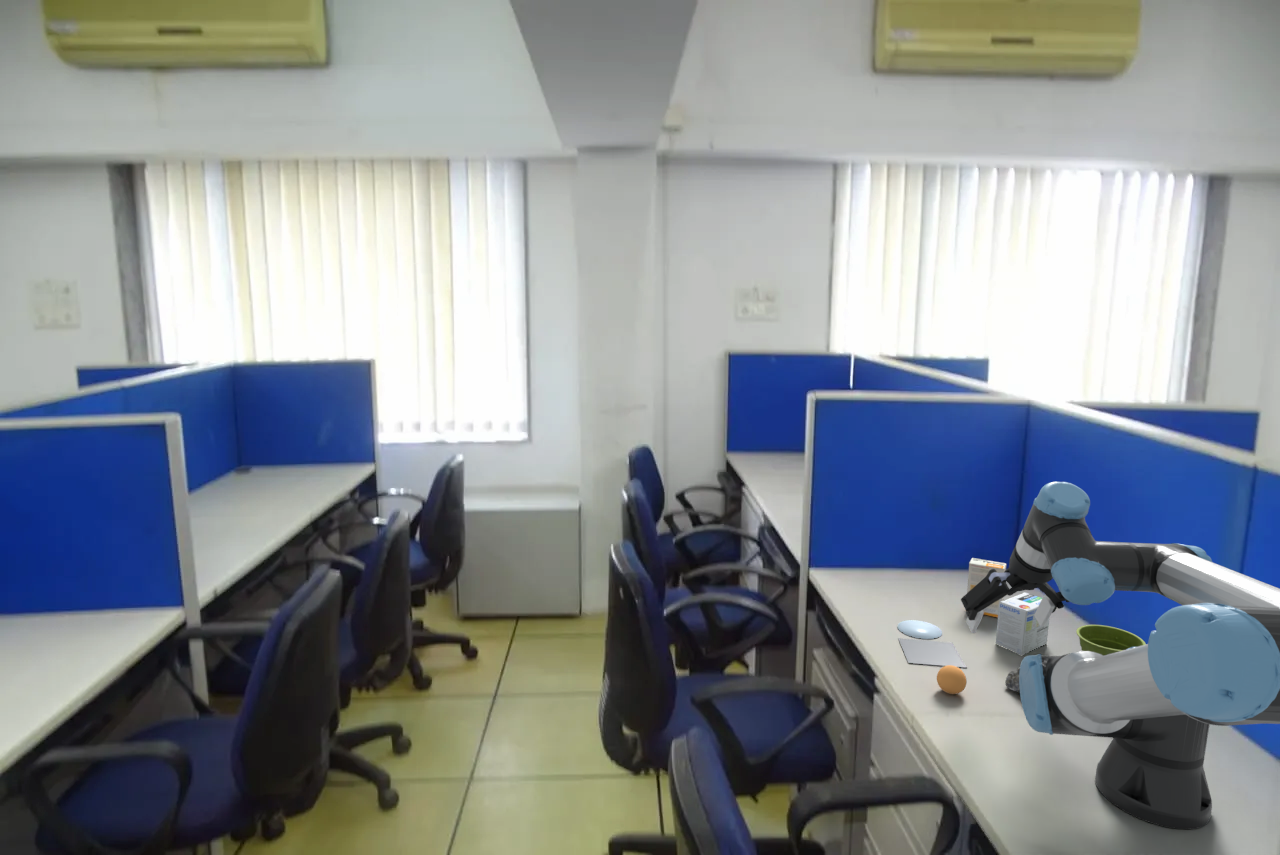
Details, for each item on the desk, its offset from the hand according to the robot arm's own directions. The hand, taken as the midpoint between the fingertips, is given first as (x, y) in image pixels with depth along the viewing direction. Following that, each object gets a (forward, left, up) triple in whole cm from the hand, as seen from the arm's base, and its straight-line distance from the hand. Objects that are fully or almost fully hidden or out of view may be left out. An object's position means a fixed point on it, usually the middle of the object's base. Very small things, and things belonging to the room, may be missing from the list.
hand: (1004, 623), depth 143 cm
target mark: (+17, +9, -15) cm, 25 cm away
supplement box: (+43, -10, -16) cm, 47 cm away
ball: (0, +9, -13) cm, 15 cm away
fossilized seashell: (+2, -8, -16) cm, 18 cm away
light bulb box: (+25, -13, -16) cm, 32 cm away
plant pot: (+7, -23, -16) cm, 28 cm away
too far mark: (+29, +9, -15) cm, 34 cm away
